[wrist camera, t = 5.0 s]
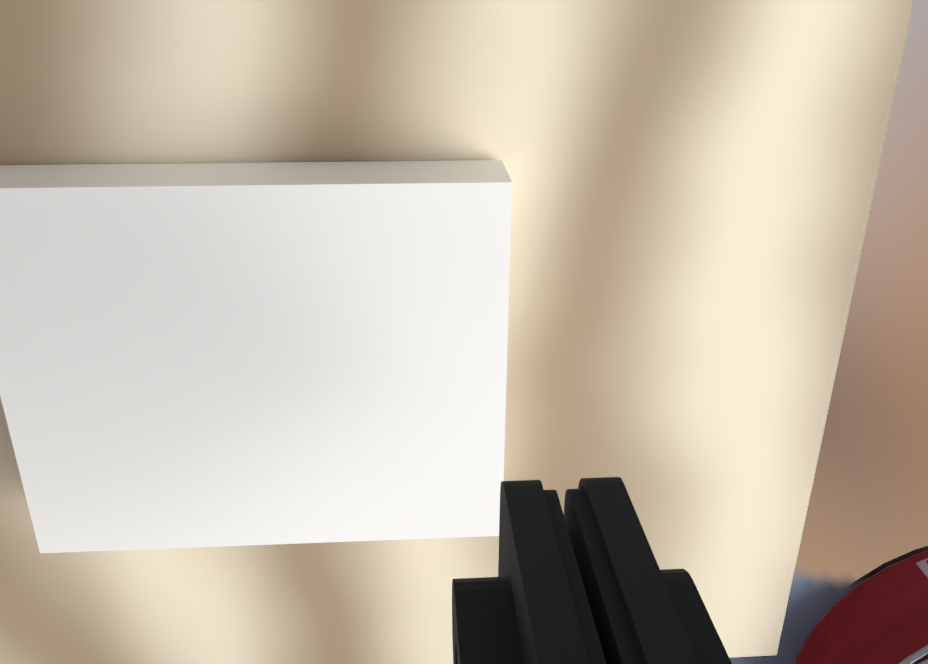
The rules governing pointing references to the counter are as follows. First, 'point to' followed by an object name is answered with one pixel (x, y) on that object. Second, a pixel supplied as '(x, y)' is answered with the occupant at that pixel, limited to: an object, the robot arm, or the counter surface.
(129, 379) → the block
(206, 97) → the board
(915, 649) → the canned food
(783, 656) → the counter surface
